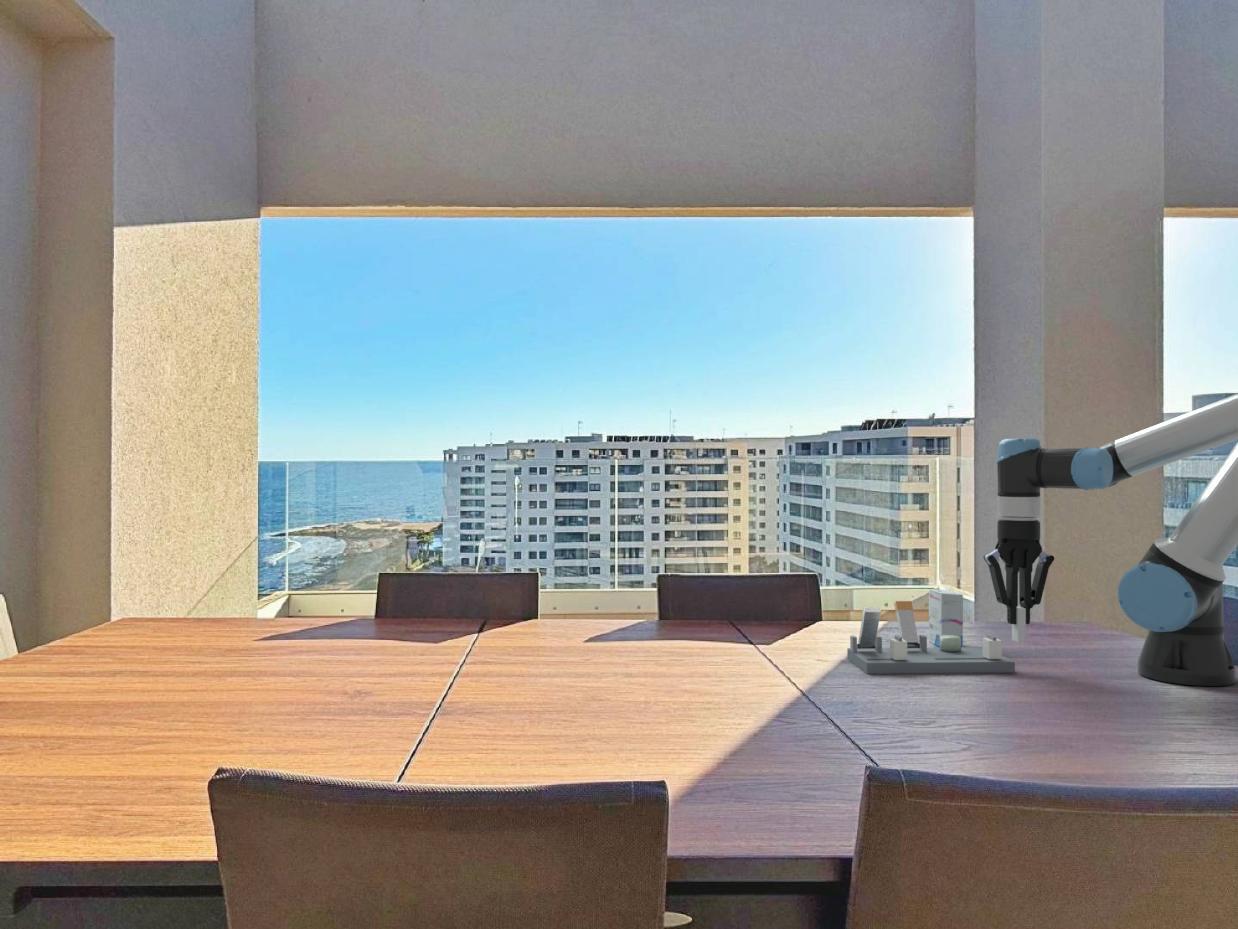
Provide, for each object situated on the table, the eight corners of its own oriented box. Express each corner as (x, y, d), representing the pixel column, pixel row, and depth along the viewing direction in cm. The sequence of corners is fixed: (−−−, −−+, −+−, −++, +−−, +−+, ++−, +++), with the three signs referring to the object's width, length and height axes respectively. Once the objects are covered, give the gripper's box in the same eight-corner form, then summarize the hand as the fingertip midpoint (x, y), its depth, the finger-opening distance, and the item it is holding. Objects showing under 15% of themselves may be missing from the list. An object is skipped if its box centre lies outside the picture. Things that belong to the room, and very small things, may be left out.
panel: (984, 656, 179) (983, 632, 179) (1015, 672, 165) (1014, 645, 165) (847, 658, 179) (847, 633, 179) (866, 673, 165) (866, 647, 165)
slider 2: (995, 655, 169) (994, 634, 169) (1001, 659, 166) (1001, 637, 166) (982, 656, 169) (982, 634, 169) (989, 659, 166) (988, 637, 166)
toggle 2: (918, 649, 176) (910, 603, 181) (920, 647, 175) (911, 601, 180) (901, 649, 176) (893, 603, 181) (903, 647, 175) (895, 601, 180)
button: (956, 647, 178) (956, 635, 178) (964, 651, 174) (964, 638, 174) (937, 647, 178) (936, 635, 178) (944, 651, 174) (944, 639, 174)
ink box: (964, 648, 187) (963, 593, 188) (941, 648, 188) (940, 593, 188) (950, 641, 196) (949, 588, 196) (927, 641, 196) (927, 588, 196)
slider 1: (902, 656, 169) (902, 635, 169) (907, 660, 166) (907, 638, 166) (889, 656, 169) (889, 635, 169) (894, 660, 166) (894, 638, 166)
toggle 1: (873, 645, 177) (879, 607, 172) (875, 650, 175) (881, 612, 171) (856, 645, 177) (862, 607, 172) (858, 650, 175) (864, 612, 171)
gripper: (1043, 517, 172) (1043, 637, 172) (976, 517, 172) (976, 637, 172) (1062, 520, 164) (1062, 645, 164) (993, 519, 164) (993, 645, 164)
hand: (1018, 641), depth 168 cm, fingers closed
